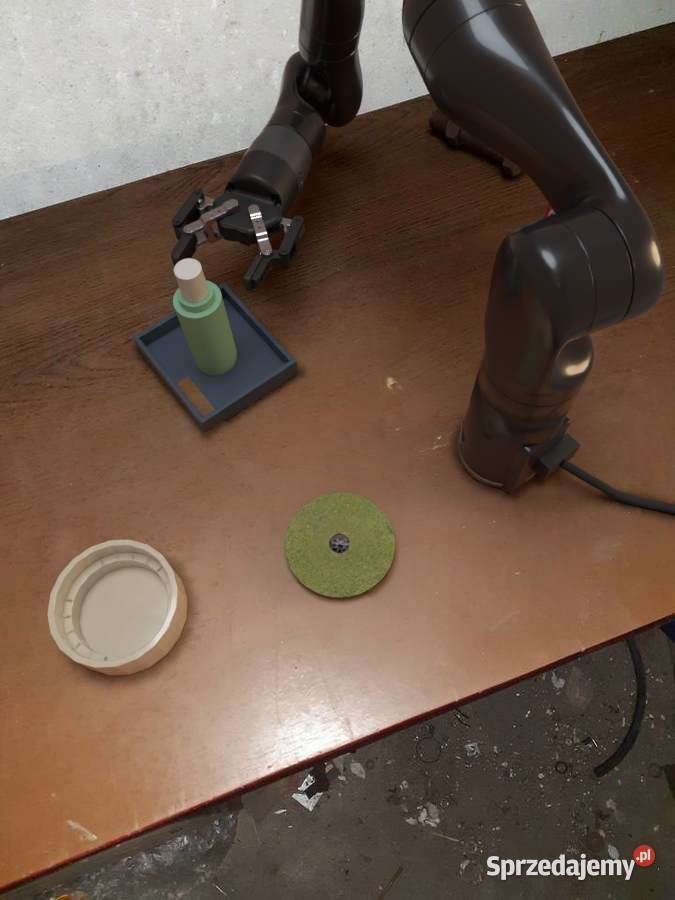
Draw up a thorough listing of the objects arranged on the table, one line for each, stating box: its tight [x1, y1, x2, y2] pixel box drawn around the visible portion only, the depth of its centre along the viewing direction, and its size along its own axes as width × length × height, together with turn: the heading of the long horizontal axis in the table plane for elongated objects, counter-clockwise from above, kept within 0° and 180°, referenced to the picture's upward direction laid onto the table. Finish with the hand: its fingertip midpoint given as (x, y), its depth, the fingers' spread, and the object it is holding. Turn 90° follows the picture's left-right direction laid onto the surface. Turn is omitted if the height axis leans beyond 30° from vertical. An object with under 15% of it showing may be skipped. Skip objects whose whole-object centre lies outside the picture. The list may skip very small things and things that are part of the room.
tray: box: [132, 282, 299, 433], centre depth 82 cm, size 15×13×2 cm
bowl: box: [46, 539, 189, 676], centre depth 68 cm, size 12×12×5 cm
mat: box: [284, 492, 396, 598], centre depth 71 cm, size 11×11×2 cm
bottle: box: [172, 257, 238, 376], centre depth 76 cm, size 5×5×16 cm
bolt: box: [427, 107, 523, 178], centre depth 97 cm, size 6×5×15 cm
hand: (211, 276), depth 75 cm, fingers open, 8 cm apart
